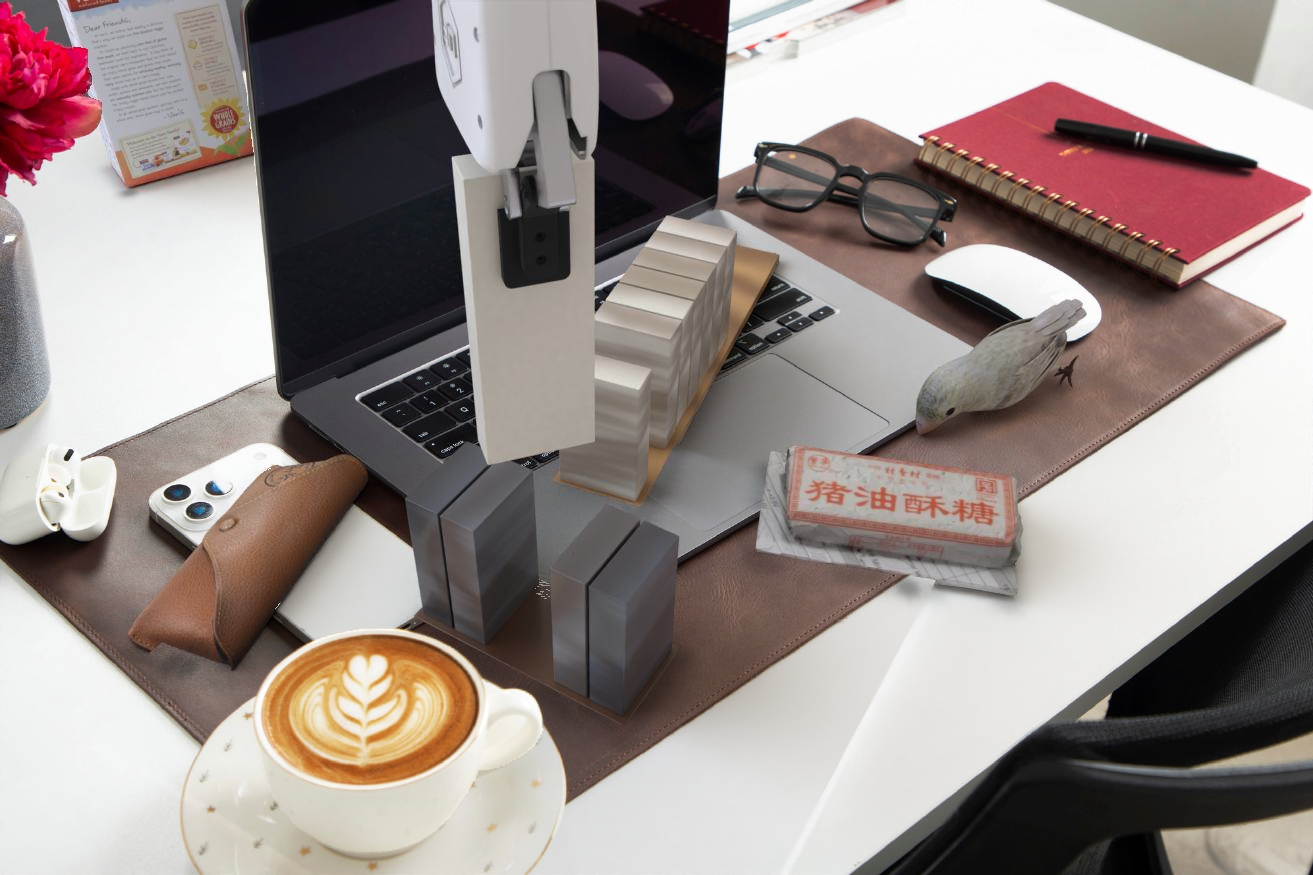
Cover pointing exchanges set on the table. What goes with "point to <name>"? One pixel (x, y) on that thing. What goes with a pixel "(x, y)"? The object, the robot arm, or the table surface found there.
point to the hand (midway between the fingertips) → (527, 261)
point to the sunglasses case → (250, 560)
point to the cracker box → (163, 83)
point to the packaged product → (892, 517)
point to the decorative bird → (1000, 367)
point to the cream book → (527, 325)
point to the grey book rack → (581, 584)
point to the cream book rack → (662, 352)
